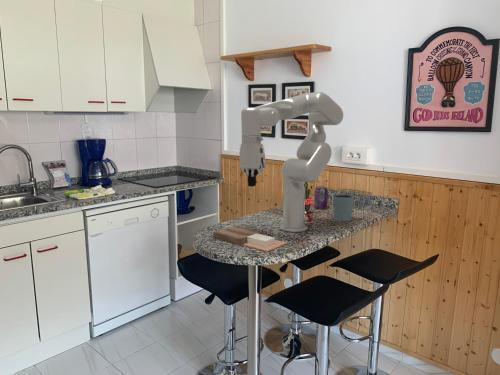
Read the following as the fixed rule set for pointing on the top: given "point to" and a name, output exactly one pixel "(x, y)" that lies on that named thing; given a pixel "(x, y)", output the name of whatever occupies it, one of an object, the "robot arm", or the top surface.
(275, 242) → the mat
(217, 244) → the top surface
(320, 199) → the beverage can
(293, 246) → the top surface
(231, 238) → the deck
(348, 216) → the grey-blue bin
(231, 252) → the top surface
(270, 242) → the tile
